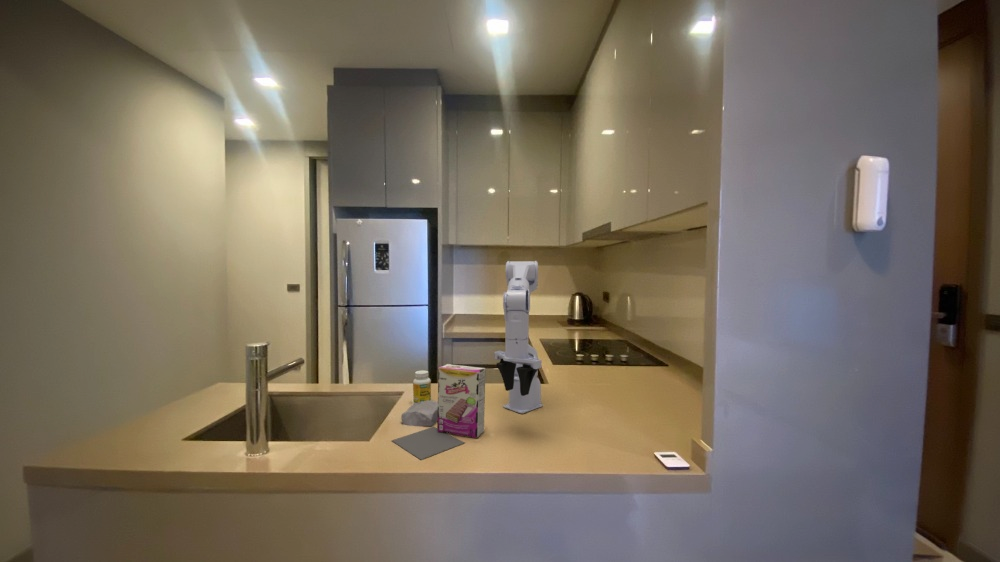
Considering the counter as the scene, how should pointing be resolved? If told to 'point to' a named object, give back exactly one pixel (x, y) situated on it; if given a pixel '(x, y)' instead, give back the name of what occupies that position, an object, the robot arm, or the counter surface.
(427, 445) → the mat
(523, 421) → the counter surface
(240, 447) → the counter surface
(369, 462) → the counter surface
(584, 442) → the counter surface
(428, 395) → the supplement bottle
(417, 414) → the stone block
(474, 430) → the candy bar box
